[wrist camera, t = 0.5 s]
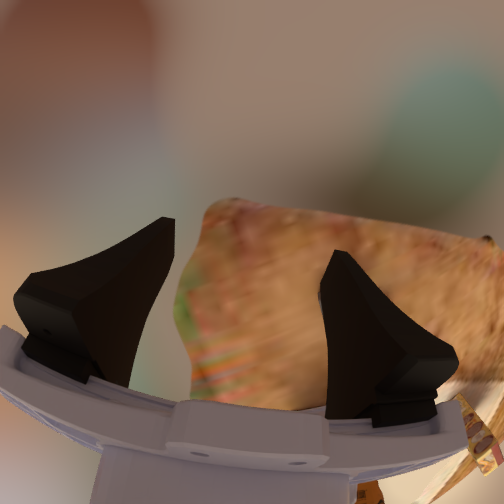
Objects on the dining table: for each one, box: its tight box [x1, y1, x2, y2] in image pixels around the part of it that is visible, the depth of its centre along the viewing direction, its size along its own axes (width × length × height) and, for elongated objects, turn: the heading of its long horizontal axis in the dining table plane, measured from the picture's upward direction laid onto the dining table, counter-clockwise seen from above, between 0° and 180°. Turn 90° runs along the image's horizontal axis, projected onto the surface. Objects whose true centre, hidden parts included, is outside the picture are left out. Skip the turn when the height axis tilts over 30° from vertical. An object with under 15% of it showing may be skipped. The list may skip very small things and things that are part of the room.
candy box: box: [452, 393, 504, 477], centre depth 23 cm, size 9×4×15 cm, turn 43°
